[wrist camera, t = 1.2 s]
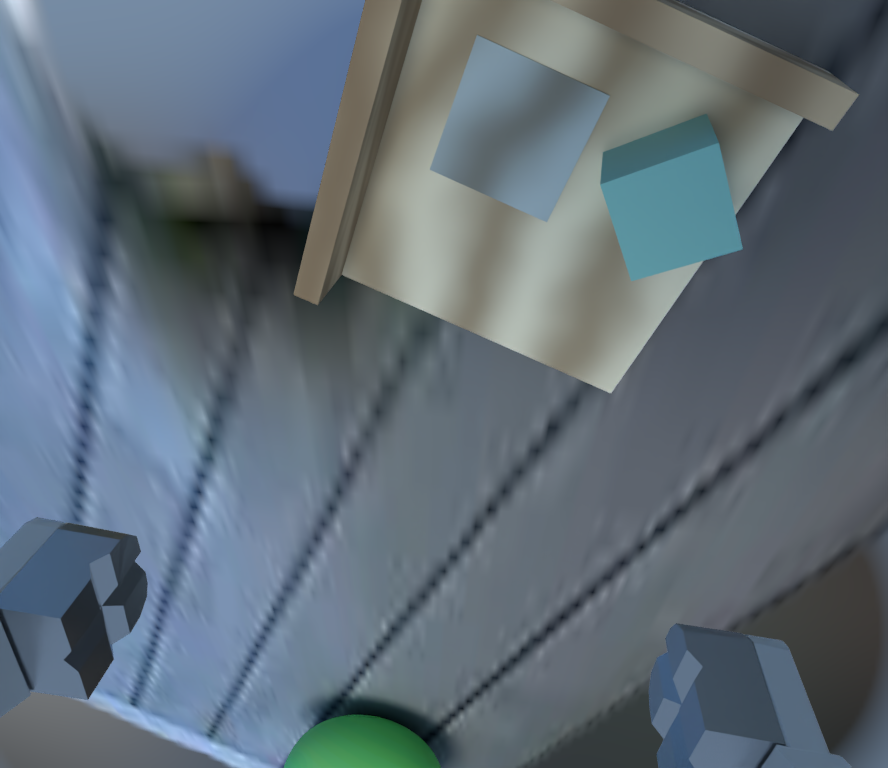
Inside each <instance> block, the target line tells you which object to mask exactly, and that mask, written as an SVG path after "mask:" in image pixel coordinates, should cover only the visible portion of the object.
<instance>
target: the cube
mask: <svg viewBox="0 0 888 768" xmlns="http://www.w3.org/2000/svg"><path fill="white" fill-rule="evenodd" d="M600 186H601V189H602V192H603V195H604V198H605V201H606V204H607V208H608V211H609V214H610V217H611V220H612V223H613V226H614V229H615V232H616V235H617V239H618V242H619V245H620V248H621V251H622V254H623V257H624V260H625V263H626V267H627V270H628V273H629V276H630V279H631V281H634V280H638V279H641V278H645V277H648V276H652V275H655V274H659V273H662V272H666V271H669V270H673V269H676V268H680V267H683V266H687V265H690V264H694V263H697V262H701V261H704V260H708V259H711V258H715V257H718V256H722V255H725V254H729V253H732V252H736V251H739V250H742V249H743V248H742V243H741V239H740V234H739V230H738V225H737V221H736V216H735V212H734V207H733V203H732V199H731V194H730V190H729V185H728V181H727V176H726V172H725V167H724V163H723V158H722V154H721V150H720V145H719V142H718V139H717V137H716V134H715V132H714V130H713V127H712V125H711V123H710V120H709V118H708V115H707V113H706V114H704V115H701V116H698V117H696V118H693V119H690V120H688V121H685V122H682V123H680V124H677V125H674V126H672V127H669V128H666V129H664V130H661V131H658V132H656V133H653V134H650V135H648V136H645V137H642V138H640V139H637V140H634V141H632V142H629V143H626V144H624V145H621V146H618V147H616V148H613V149H610V150H608V151H605V152H603V157H602V169H601V181H600Z"/></svg>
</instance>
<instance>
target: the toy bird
mask: <svg viewBox="0 0 888 768" xmlns="http://www.w3.org/2000/svg"><path fill="white" fill-rule="evenodd" d="M284 768H441V766H440V764H439V762H438V760H437V758H436V756H435V754H434V753H433V751H432V750H431V748H430V747H429V746H428V745H427V744H426V743H425V742H424V741H423V740H422V739H421V738H420V737H419V736H418V735H416V734H415V733H414V732H412V731H411V730H409V729H408V728H406V727H404V726H402V725H400V724H398V723H396V722H393V721H391V720H388V719H384V718H381V717H376V716H371V715H345V716H339V717H335V718H331V719H328V720H326V721H323V722H321V723H319V724H317V725H316V726H314V727H313V728H311V729H310V730H309V731H308V732H306V733H305V734H304V735H303V736H302V737H301V738H300V739H299V741H298V742H297V743H296V744H295V746H294V747H293V749H292V751H291V752H290V754H289V756H288V758H287V760H286V763H285V766H284Z"/></svg>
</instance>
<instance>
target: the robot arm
mask: <svg viewBox="0 0 888 768" xmlns="http://www.w3.org/2000/svg"><path fill="white" fill-rule="evenodd" d="M140 552H141V550H140V547H139V543H138V540H137V536H133V535H129V534H124V533H119V532H114V531H109V530H103V529H98V528H93V527H88V526H83V525H78V524H72V523H66V522H61V521H55V520H49V519H44V518H38V517H37V518H35V519H33V520H31V521H28V522H26V523H25V524H24V525H23V526H22V527H21V528H20V529H19V530H18V531H17V532H16V533H15V534H14V535H13V536H12V537H11V538H10V539H9V540H8V541H7V542H6V543H5V544H4V545H3V547H2V548H1V549H0V717H1V716H3V715H4V714H6V713H7V712H8V711H10V710H11V709H12V708H14V707H15V706H17V705H18V704H19V703H20V702H22V701H23V700H25V699H26V698H27V697H29V696H30V695H31V693H30V691H31V692H38V693H45V694H52V695H59V696H65V697H72V698H78V699H85V700H88V699H89V697H90V696H91V694H92V693H93V691H94V690H95V688H96V686H97V685H98V683H99V682H100V680H101V679H102V677H103V675H104V674H105V672H106V671H107V669H108V667H109V666H110V664H111V663H112V661H113V660H114V657H113V649H112V644H113V643H115V642H117V641H118V640H120V639H121V638H123V637H125V636H126V635H128V634H130V632H131V631H132V629H133V627H134V626H135V624H136V622H137V621H138V619H139V617H140V615H141V612H142V609H143V606H144V603H145V600H146V597H147V578H146V573H145V571H144V570H143V569H142V568H141V567H140V566H139V565H138V564H137V563H136V562H135V560H136V558H137V557H138V555H139V554H140ZM665 640H666V645H667V651H668V652H667V653H665V654H663V655H661V656H659V657H658V658H657V659H656V662H655V664H654V667H653V669H652V672H651V679H650V686H649V707H650V714H651V721H652V724H653V726H654V727H655V728H656V729H657V731H658V732H659V733H660V735H661V736H662V737H663V739H664V740H663V742H662V745H661V747H660V749H659V751H658V753H657V760H658V766H659V768H852V767H851V766H850V765H849V764H848V763H847V762H846V761H845V760H844V759H843V758H842V756H838V755H833V754H830V753H829V751H828V748H827V745H826V743H825V741H824V738H823V735H822V732H821V730H820V728H819V725H818V722H817V720H816V717H815V714H814V712H813V709H812V707H811V704H810V702H809V699H808V696H807V694H806V691H805V689H804V686H803V684H802V681H801V679H800V676H799V673H798V671H797V668H796V665H795V663H794V660H793V658H792V655H791V653H790V650H789V648H788V646H787V645H786V644H785V643H784V642H783V641H782V640H776V639H770V638H763V637H757V636H751V635H743V634H742V633H737V632H730V631H723V630H717V629H710V628H703V627H697V626H690V625H684V624H677V623H676V624H675V625H673V626H672V627H671V628H670V630H669V632H668V634H667V636H666V638H665Z"/></svg>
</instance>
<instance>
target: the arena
mask: <svg viewBox="0 0 888 768" xmlns="http://www.w3.org/2000/svg"><path fill="white" fill-rule="evenodd" d="M858 96H859V94H857V93H856V92H855V91H854V90H852V89H851V88H850V87H848V86H847V85H846V84H844V83H843V82H842V81H840V80H839V79H838V78H836V77H835V76H834V75H832V74H831V73H830V72H829V71H827V70H825V69H823V68H821V67H818V66H816V65H814V64H812V63H810V62H808V61H806V60H803V59H801V58H799V57H797V56H795V55H793V54H791V53H788V52H786V51H784V50H782V49H780V48H778V47H776V46H773V45H771V44H769V43H767V42H765V41H763V40H761V39H758V38H756V37H754V36H752V35H750V34H748V33H746V32H743V31H741V30H739V29H737V28H735V27H733V26H731V25H728V24H726V23H724V22H722V21H720V20H718V19H716V18H713V17H711V16H709V15H707V14H705V13H703V12H701V11H698V10H696V9H694V8H692V7H690V6H688V5H686V4H683V3H681V2H679V1H677V0H365V4H364V8H363V12H362V16H361V21H360V24H359V29H358V33H357V37H356V41H355V45H354V49H353V53H352V57H351V61H350V65H349V70H348V74H347V78H346V82H345V86H344V90H343V94H342V98H341V103H340V106H339V110H338V115H337V119H336V123H335V127H334V131H333V135H332V139H331V143H330V148H329V152H328V156H327V160H326V164H325V168H324V172H323V176H322V180H321V184H320V188H319V192H318V196H317V201H316V205H315V209H314V213H313V217H312V221H311V225H310V229H309V233H308V237H307V242H306V246H305V250H304V254H303V258H302V262H301V266H300V270H299V274H298V278H297V282H296V287H295V291H294V295H296V296H298V297H300V298H302V299H305V300H307V301H309V302H312V303H314V304H316V305H318V304H319V303H320V302H321V300H322V299H323V298H324V297H325V295H326V294H327V293H328V291H329V290H330V289H331V288H332V286H333V285H334V284H335V282H336V281H337V280H338V279H339V277H340V276H341V275H344V276H346V277H348V278H350V279H353V280H355V281H357V282H359V283H362V284H364V285H366V286H368V287H371V288H373V289H375V290H378V291H380V292H382V293H384V294H387V295H389V296H391V297H393V298H396V299H398V300H400V301H402V302H405V303H407V304H409V305H412V306H414V307H416V308H418V309H421V310H423V311H425V312H427V313H430V314H432V315H434V316H437V317H439V318H441V319H443V320H446V321H448V322H450V323H452V324H455V325H457V326H459V327H461V328H464V329H466V330H468V331H471V332H473V333H475V334H477V335H480V336H482V337H484V338H486V339H489V340H491V341H493V342H496V343H498V344H500V345H502V346H505V347H507V348H509V349H511V350H514V351H516V352H518V353H520V354H523V355H525V356H527V357H530V358H532V359H534V360H536V361H539V362H541V363H543V364H545V365H548V366H550V367H552V368H554V369H557V370H559V371H561V372H564V373H566V374H568V375H570V376H573V377H575V378H577V379H579V380H582V381H584V382H586V383H589V384H591V385H593V386H595V387H598V388H600V389H602V390H604V391H607V392H609V393H612V391H613V390H614V388H615V387H616V385H617V384H618V383H619V381H620V380H621V378H622V377H623V375H624V374H625V373H626V371H627V370H628V368H629V367H630V365H631V364H632V363H633V361H634V360H635V358H636V357H637V355H638V354H639V353H640V351H641V350H642V348H643V347H644V345H645V344H646V342H647V341H648V340H649V338H650V337H651V335H652V334H653V332H654V331H655V330H656V328H657V327H658V325H659V324H660V322H661V321H662V320H663V318H664V317H665V315H666V314H667V312H668V311H669V310H670V308H671V307H672V305H673V304H674V302H675V301H676V300H677V298H678V297H679V295H680V294H681V292H682V291H683V290H684V288H685V287H686V285H687V284H688V282H689V281H690V279H691V278H692V277H693V275H694V274H695V272H696V271H697V269H698V268H699V267H700V265H701V264H702V262H703V261H701V262H697V263H694V264H690V265H687V266H683V267H680V268H676V269H673V270H669V271H666V272H662V273H659V274H655V275H652V276H648V277H645V278H641V279H638V280H634V281H631V279H630V276H629V273H628V270H627V267H626V263H625V260H624V257H623V254H622V251H621V248H620V245H619V242H618V239H617V235H616V232H615V229H614V226H613V223H612V220H611V217H610V214H609V211H608V208H607V204H606V201H605V198H604V195H603V192H602V189H601V186H600V181H601V169H602V157H603V152H605V151H608V150H610V149H613V148H616V147H618V146H621V145H624V144H626V143H629V142H632V141H634V140H637V139H640V138H642V137H645V136H648V135H650V134H653V133H656V132H658V131H661V130H664V129H666V128H669V127H672V126H674V125H677V124H680V123H682V122H685V121H688V120H690V119H693V118H696V117H698V116H701V115H704V114H706V113H707V115H708V118H709V120H710V123H711V125H712V127H713V130H714V132H715V134H716V137H717V139H718V142H719V145H720V150H721V154H722V158H723V163H724V167H725V172H726V176H727V181H728V185H729V190H730V194H731V199H732V203H733V207H734V212H735V215H736V214H737V212H738V211H739V209H740V208H741V206H742V205H743V204H744V202H745V201H746V199H747V198H748V196H749V195H750V194H751V192H752V191H753V189H754V188H755V186H756V185H757V184H758V182H759V181H760V179H761V178H762V176H763V175H764V174H765V172H766V171H767V169H768V168H769V166H770V165H771V164H772V162H773V161H774V159H775V158H776V156H777V155H778V153H779V152H780V151H781V149H782V148H783V146H784V145H785V143H786V142H787V141H788V139H789V138H790V136H791V135H792V133H793V132H794V131H795V129H796V128H797V126H798V125H799V123H800V122H801V121H802V119H803V118H806V119H808V120H810V121H812V122H814V123H816V124H819V125H821V126H823V127H825V128H827V129H829V130H832V131H833V130H834V128H835V127H836V126H837V124H838V123H839V121H840V120H841V119H842V117H843V116H844V115H845V113H846V112H847V111H848V109H849V108H850V106H851V105H852V104H853V102H854V101H855V100H856V98H857V97H858Z"/></svg>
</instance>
